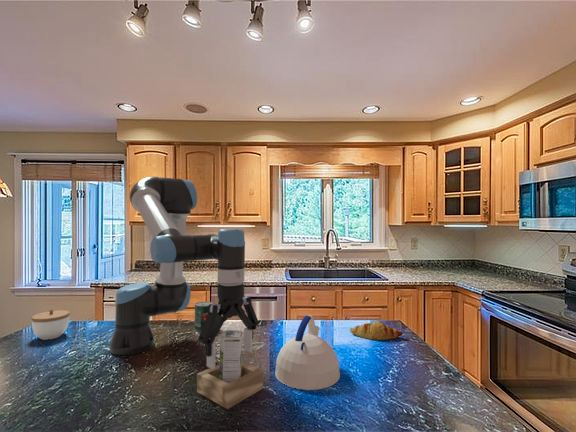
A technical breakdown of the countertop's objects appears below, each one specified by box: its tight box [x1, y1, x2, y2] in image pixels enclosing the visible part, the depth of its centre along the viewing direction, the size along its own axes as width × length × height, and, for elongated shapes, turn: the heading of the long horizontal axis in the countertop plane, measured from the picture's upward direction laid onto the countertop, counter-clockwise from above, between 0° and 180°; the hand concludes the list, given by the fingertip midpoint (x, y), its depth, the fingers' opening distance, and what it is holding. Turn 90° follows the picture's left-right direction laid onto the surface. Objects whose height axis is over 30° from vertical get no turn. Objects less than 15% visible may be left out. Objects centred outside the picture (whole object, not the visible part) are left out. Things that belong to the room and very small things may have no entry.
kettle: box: [274, 314, 341, 391], centre depth 100 cm, size 20×21×18 cm
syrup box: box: [219, 329, 243, 384], centre depth 90 cm, size 6×6×14 cm
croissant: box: [349, 320, 404, 341], centre depth 132 cm, size 21×10×8 cm, turn 77°
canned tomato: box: [194, 301, 214, 332], centre depth 141 cm, size 8×8×11 cm
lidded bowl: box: [31, 309, 71, 341], centre depth 130 cm, size 13×13×11 cm
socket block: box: [196, 361, 264, 410], centre depth 89 cm, size 13×13×5 cm
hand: (230, 358), depth 89 cm, fingers open, 13 cm apart
